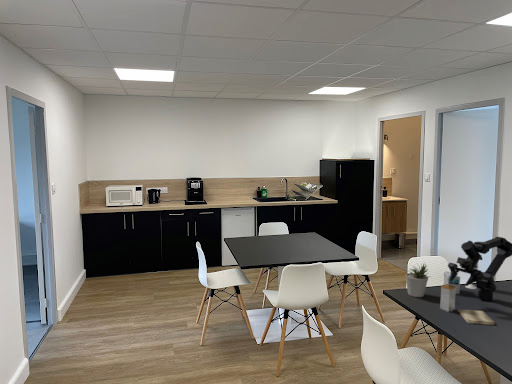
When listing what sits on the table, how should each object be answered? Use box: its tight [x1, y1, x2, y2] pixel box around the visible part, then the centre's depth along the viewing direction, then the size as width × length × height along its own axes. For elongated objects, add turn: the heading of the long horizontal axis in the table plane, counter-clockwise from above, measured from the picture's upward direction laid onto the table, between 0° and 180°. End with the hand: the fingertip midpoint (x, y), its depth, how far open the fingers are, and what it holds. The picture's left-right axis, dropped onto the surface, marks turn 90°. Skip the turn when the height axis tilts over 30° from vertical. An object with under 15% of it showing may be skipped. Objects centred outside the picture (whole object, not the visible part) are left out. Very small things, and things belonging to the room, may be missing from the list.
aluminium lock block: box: [439, 284, 456, 313], centre depth 210 cm, size 5×5×13 cm
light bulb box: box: [443, 270, 461, 295], centre depth 240 cm, size 11×7×11 cm, turn 168°
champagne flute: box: [464, 262, 479, 290], centre depth 247 cm, size 7×7×24 cm
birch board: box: [457, 309, 495, 326], centre depth 199 cm, size 12×14×2 cm
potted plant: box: [405, 261, 431, 298], centre depth 231 cm, size 13×14×20 cm
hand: (458, 283), depth 213 cm, fingers open, 9 cm apart
